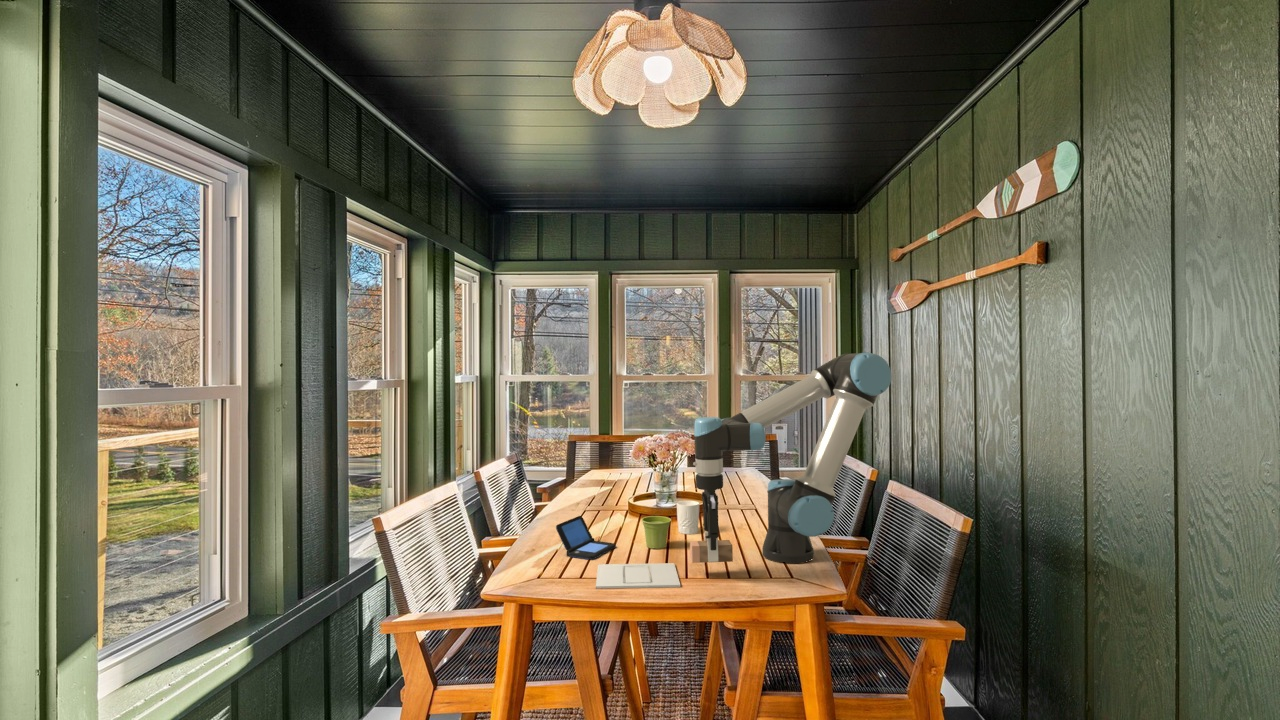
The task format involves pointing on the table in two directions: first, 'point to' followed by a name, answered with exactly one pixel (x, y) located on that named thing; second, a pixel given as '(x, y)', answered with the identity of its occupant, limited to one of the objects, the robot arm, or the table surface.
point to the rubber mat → (637, 576)
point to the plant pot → (656, 531)
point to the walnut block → (701, 551)
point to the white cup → (688, 517)
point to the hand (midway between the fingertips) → (711, 557)
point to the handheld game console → (581, 540)
